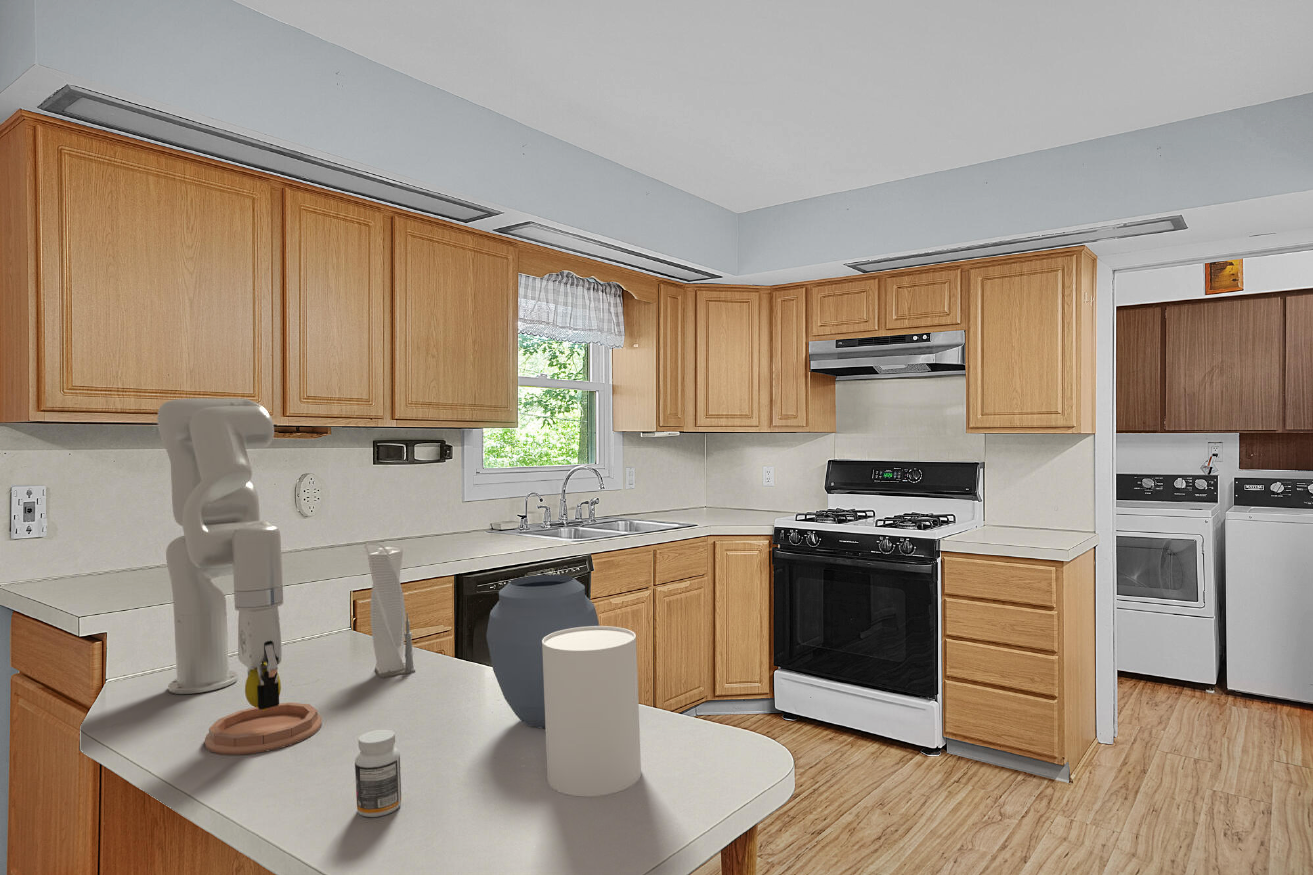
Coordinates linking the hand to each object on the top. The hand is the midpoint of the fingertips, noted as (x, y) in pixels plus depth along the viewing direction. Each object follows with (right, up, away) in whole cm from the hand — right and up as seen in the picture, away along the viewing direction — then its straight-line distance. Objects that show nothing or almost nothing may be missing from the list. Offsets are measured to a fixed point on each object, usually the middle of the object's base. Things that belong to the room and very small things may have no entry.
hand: (263, 701), depth 138 cm
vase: (+49, -4, +1) cm, 49 cm away
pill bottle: (+30, -5, -30) cm, 43 cm away
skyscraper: (+10, -5, +35) cm, 37 cm away
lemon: (0, -2, 0) cm, 2 cm away
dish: (0, -5, 0) cm, 5 cm away
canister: (+58, -4, -22) cm, 62 cm away
